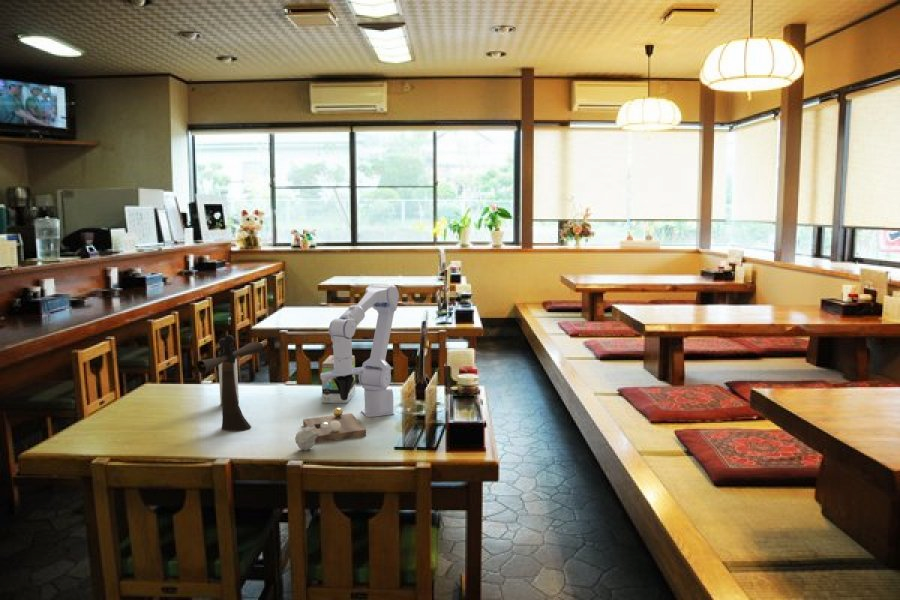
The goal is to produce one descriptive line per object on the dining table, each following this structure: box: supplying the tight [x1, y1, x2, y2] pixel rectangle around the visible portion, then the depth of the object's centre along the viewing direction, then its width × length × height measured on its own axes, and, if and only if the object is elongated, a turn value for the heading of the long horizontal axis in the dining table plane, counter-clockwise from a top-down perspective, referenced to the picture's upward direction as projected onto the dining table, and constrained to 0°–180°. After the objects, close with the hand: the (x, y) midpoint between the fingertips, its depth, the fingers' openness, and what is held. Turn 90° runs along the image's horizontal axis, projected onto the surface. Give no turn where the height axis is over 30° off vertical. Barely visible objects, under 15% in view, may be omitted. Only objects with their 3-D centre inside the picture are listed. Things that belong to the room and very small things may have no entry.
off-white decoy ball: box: [330, 420, 341, 432], centre depth 201 cm, size 3×3×3 cm
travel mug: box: [217, 347, 240, 407], centre depth 236 cm, size 6×7×20 cm
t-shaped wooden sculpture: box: [196, 334, 264, 432], centre depth 210 cm, size 32×10×30 cm, turn 165°
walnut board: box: [302, 412, 367, 444], centre depth 208 cm, size 16×18×2 cm
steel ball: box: [320, 422, 330, 428], centre depth 207 cm, size 3×3×3 cm
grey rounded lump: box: [294, 427, 318, 452], centre depth 191 cm, size 6×7×7 cm
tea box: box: [321, 354, 356, 404], centre depth 244 cm, size 15×10×15 cm
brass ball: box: [332, 407, 344, 417], centre depth 215 cm, size 3×3×3 cm
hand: (344, 399), depth 208 cm, fingers closed
